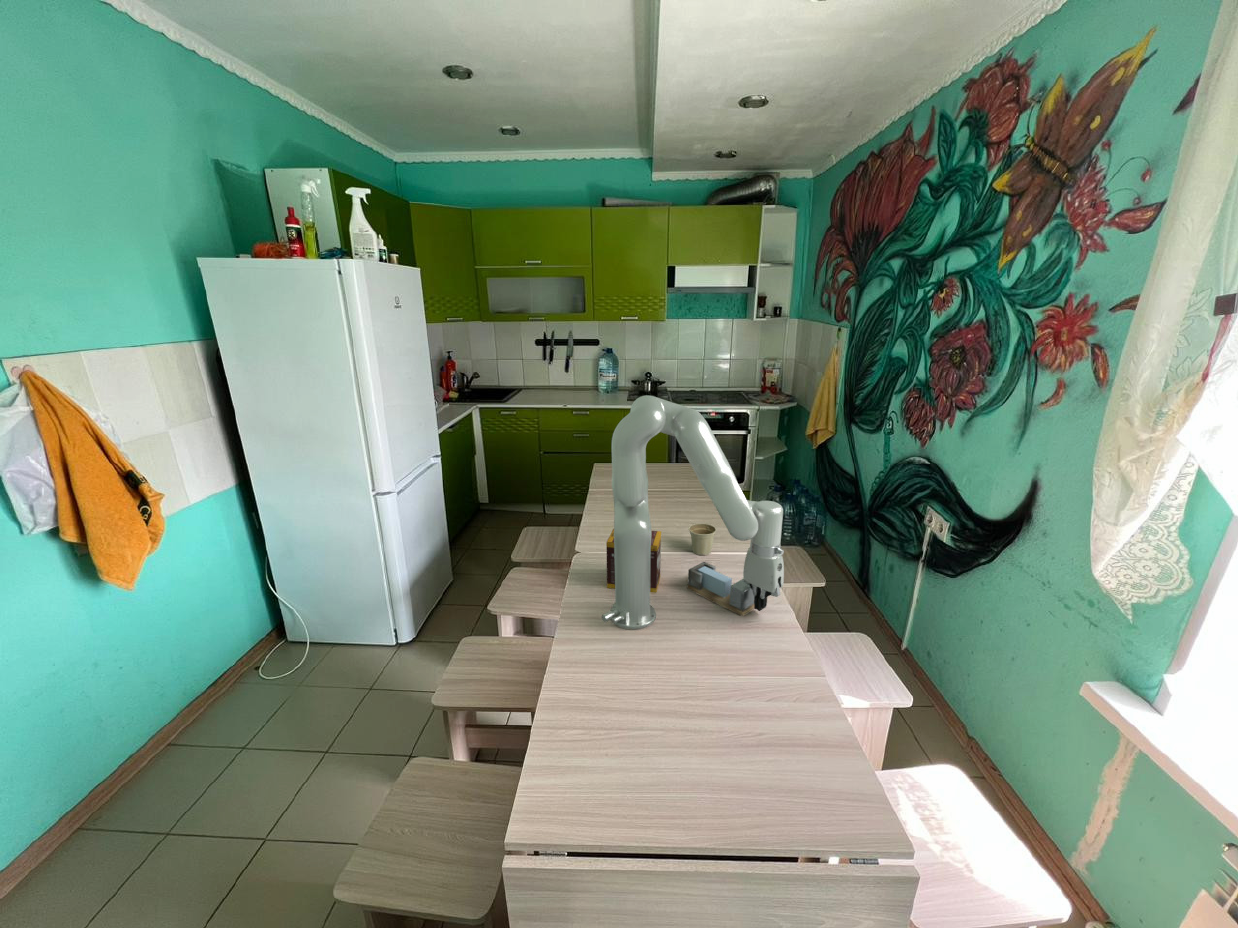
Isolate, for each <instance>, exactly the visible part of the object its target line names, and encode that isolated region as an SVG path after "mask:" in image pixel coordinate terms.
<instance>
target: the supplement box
mask: <svg viewBox="0 0 1238 928" xmlns="http://www.w3.org/2000/svg"><path fill="white" fill-rule="evenodd" d="M651 531H652V536H651V555H650V594H651V593H652V594H654V593H655V594H657V593H658V588H659V583H660V581H661V560H662V559H661V557H662V556H661V554H662V553H661V552H662V549H661V548H662V531H660V530H651ZM605 543H606V547H605V548H606V588H607V589H613V590H615V553H614V527H613V528H612V531H611V533H610V535H609V537H608V538H607V541H606V542H605Z"/></svg>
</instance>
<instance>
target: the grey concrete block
mask: <svg viewBox="0 0 1238 928" xmlns="http://www.w3.org/2000/svg"><path fill="white" fill-rule="evenodd" d="M754 596H755V595H753V591H752V589H751V587H750V585H748V584H746V583H745V582H744V577H742V579H740V580H738V581H736V582H734V583H732V585H731V589H730V605H732V606H734V607H736V608H738V609H740V610H742V611H744V610H745V609H747V608H748V607H750V606H751V605H753V604H754Z"/></svg>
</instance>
